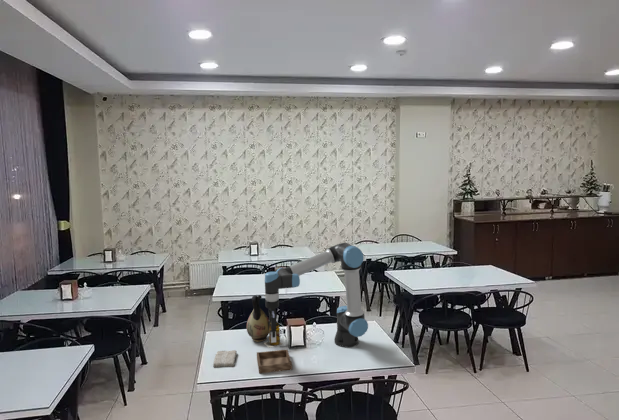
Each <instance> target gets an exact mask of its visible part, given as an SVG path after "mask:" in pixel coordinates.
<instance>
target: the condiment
mask: <svg viewBox="0 0 619 420" xmlns="http://www.w3.org/2000/svg"><path fill="white" fill-rule="evenodd" d="M280 329H281V328H280V324H279V322H278V321H276V342H274V343H271V332H270V331H271V323H270V328H269V335H268V339H269V340H268V341H267V342H263V345H265V346H266V347H267V348H274V347H278V346H282V345H283V343H282V342H281V336H280V335H281V331H280Z"/></svg>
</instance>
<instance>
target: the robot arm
mask: <svg viewBox="0 0 619 420" xmlns="http://www.w3.org/2000/svg"><path fill="white" fill-rule="evenodd" d="M364 259H365V258H364V252H362V250H361V248H359V247H358V246H356V245H353V244H350V243H348V242H341V243H337V244H335V245H333V246H331V247H328V248H326V250H325V251H322V252H320V253H318V254H315V255H313V256H311V257H308V258H306V259H304V260H301V261H299V262H297V263H295V264H292V265H289V266H287V267H279V268H278V269H276V271H268V272H266V273H264V291H265V292H264V295H263V296H264V297H265V301H264V303H265V308H266V309H268V319H269V323H271V331H270V332H271V343H274V342H276V322H277V310H276V309H277V308H279V306H280V300H279V299H280V291H279V290H282V289H292V288H293V289H294V288H298V287H300V283H301V278H300V276H302V275H305V274H306V273H307V274H308V273H309V272H312V271H314V270H316V269H318V268H321V267H324V266H325V265H328V264H330V263H331V264H335V263H338V262H340V267H341V270H342V271H343V272H344V275H343V276H344V286H345V298H346V299H345V301H346V305H341V306H338V307H337V309H336V332H335V333H336V334H335V336H334V341H333V342H334V344H335V345H337V346H338V347H342V348H350V347H351V348H353V347H356V346H357V345H359V342H360V341H359V337H362V336H363V335H365V334H366V332H368V329H369V323H368V321H367V319H366V318H365V310H364V309H362V298H361V297H362V296H361V285H360V284H361V283H360V282H361V281H360V270H361V269H362V263H364Z"/></svg>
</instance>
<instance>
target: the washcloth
mask: <svg viewBox="0 0 619 420" xmlns="http://www.w3.org/2000/svg"><path fill="white" fill-rule="evenodd" d="M236 357H237V350H236V349H234V350H218V351H217V352H216V354H215V355H214V360H213V364H212V365H213V367H214V368H220V367H234V366H235V361H236Z"/></svg>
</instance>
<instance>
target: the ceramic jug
mask: <svg viewBox="0 0 619 420" xmlns="http://www.w3.org/2000/svg"><path fill="white" fill-rule="evenodd" d="M262 297H263V296H262V295H260V294H259V295H256V294H255V295H252V297H251V302H252V307H253V310H252V312H251V313H250V314H249V317H248V319H247V322H246V332H247V334H248V336H250V337H251V339H252V341H253V342H256V343H258V342H264V341H267V339H268V337H269V328H270V323H269V316H267V314H266V313H265V312H264V310H263V309H262V308H261V307H260V300H261V299H262Z"/></svg>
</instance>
